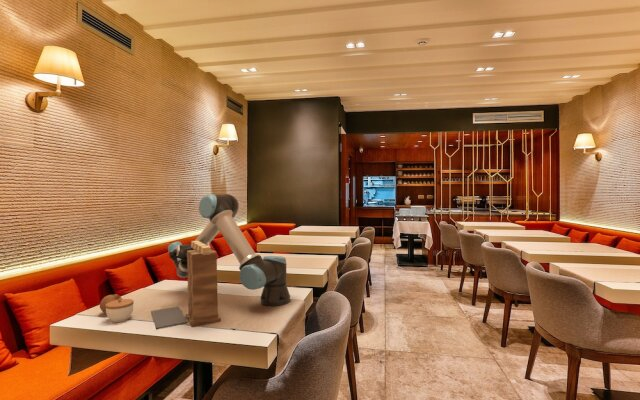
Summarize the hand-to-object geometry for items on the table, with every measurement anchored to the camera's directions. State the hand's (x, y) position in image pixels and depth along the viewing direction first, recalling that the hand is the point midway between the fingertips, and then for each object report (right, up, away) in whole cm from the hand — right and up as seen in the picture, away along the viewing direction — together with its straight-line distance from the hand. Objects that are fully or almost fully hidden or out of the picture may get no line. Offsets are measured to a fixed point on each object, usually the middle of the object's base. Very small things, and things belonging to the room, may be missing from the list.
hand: (194, 246), depth 159 cm
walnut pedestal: (+8, -31, -11) cm, 34 cm away
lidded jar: (-29, -31, -11) cm, 44 cm away
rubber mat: (-8, -31, -9) cm, 33 cm away
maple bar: (+6, -1, -9) cm, 11 cm away
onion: (-38, -31, -2) cm, 49 cm away
